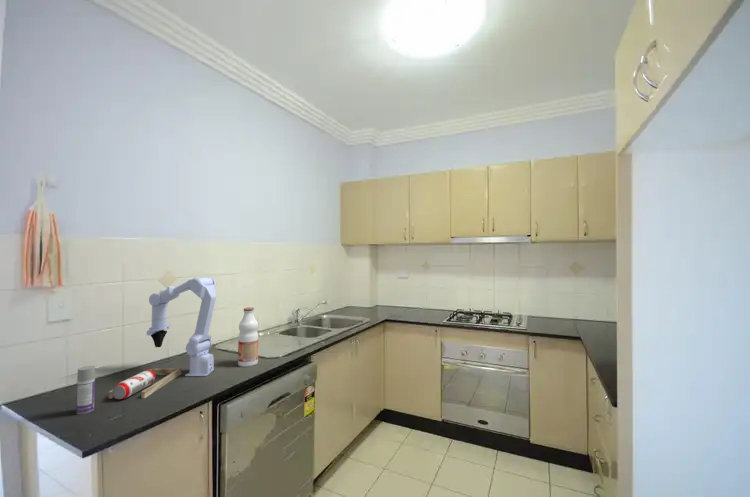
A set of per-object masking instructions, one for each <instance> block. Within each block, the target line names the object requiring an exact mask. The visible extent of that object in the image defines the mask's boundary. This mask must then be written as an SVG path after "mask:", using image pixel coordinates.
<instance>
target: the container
mask: <svg viewBox="0 0 750 497" xmlns="http://www.w3.org/2000/svg"><path fill="white" fill-rule="evenodd" d="M76 376H77V377H76V378H77V380H76V405H75V407H76V408H75V409H76V411H75V412H76V415H85V414H88V413H91V412H93V411H94V410H95V390H96V388H95V384H96V370H95V365H86V366H85V365H84V366H82V367H79V368H77V375H76Z"/></svg>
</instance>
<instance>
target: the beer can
mask: <svg viewBox="0 0 750 497" xmlns="http://www.w3.org/2000/svg"><path fill="white" fill-rule="evenodd" d="M156 376H157V375H155V373H154V372H153V371H151V370H150V369H146V370H144V371H141V372H139V373H137V374H136V375H133V376H131V377H129V378H126V379H125V380H122V381H120V382H119V383H118V384H116V386H114V387H113V388H112V389H111V390H112V395H113V398H114V399H116V400H123V399H127V398H128V397H130V396H132V395H135V394H136V393H137V392H139V391H141V390H142V391H143V390H144V389H146V388H148V387H150V386H151V385H153V384H154V382H155V381H156V378H157V377H156Z"/></svg>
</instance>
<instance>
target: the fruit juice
mask: <svg viewBox="0 0 750 497" xmlns="http://www.w3.org/2000/svg"><path fill="white" fill-rule="evenodd" d="M254 312H255V308H254V307H250V306H249V307H244V308H243V313H244V314H243V317H242V319H241V321H240V322H239V324H238V329H239V333H238V337H237V338H238V339H237V341H238V342H237V343H238V344H237V345H238V346H237V365H238V366H239V367H244V368H247V367H253V366H255V365H257V364H258V363H259V332H258V330H259V322H258V321H257V319H256V318H255V314H254Z"/></svg>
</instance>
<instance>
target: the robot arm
mask: <svg viewBox="0 0 750 497" xmlns="http://www.w3.org/2000/svg"><path fill="white" fill-rule="evenodd" d="M213 278H214V277H212V276H206V277H193V278H192V279H188V280H187V281H185V282H183V283H182V284H180V285H178V286H171V285H170V286H167V288H166V289H163V290H159V292H158V293H152V294H150V296H149V299H148V302H149V305H150V306H151V327H149V328H148V330H146V336H150V337H151V338H152V341H153V344H154V347H155V348H161V347H162V346H163V345H162V344H163V342H164V339H165V338H166V335H167V333H168V331H167V330H168V329H171V327H170V326H171V325H170V324H169V323H167V308H168V304H169V302H171V301H173V300H175V299H177V298H178V297H180V294H182V293H184V292H187V291H191V292H193V293H194V295H195V296H197V297H198V298H200V299H201V302H200V307H199V311H198V316H197V322H196V326H195V330H194V333H193V334H192V335H191V336H190V338H189V340H188V343H186V346H185V352H186V354H188V356H189V372H188V373H186V374H185V377H207V376H209V375H210V374H211V373H213V371H215V369H214V364H215V361H214V360H215V357H214V354H213V353H209V350H210V349H211V347H212V344H213V343H212V336H211V334H209V332H210V326H211V322H212V316H213V312H214V308H215V304H216V303H215V302H216V299H217V294H216V286H217V282H216V281H215V279H213ZM166 329H167V330H166Z"/></svg>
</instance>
